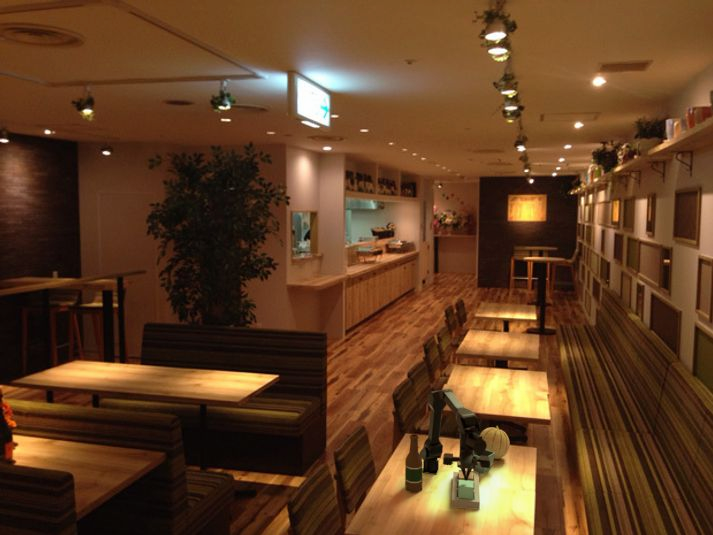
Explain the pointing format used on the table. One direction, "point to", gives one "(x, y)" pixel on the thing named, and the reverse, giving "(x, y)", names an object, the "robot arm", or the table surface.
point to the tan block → (463, 476)
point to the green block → (465, 489)
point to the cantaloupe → (496, 441)
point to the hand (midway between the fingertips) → (466, 480)
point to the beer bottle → (413, 467)
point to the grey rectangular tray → (465, 502)
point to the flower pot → (478, 467)
